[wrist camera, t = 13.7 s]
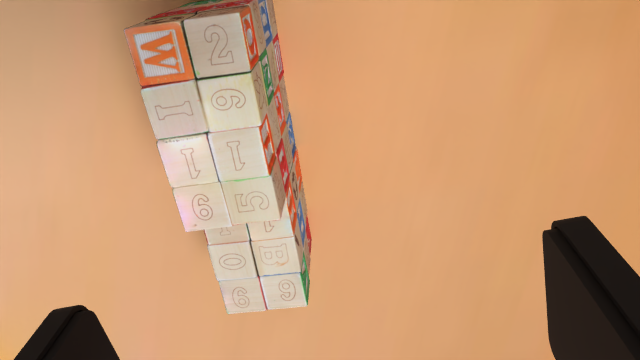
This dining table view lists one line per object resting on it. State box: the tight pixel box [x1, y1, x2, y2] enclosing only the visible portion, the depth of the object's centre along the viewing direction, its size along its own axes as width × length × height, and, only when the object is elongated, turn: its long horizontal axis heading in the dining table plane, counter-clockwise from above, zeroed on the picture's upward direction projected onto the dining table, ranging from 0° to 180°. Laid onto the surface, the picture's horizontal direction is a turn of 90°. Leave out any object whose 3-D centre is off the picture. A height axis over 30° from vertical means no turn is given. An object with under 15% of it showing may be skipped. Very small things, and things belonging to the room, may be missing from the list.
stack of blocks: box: [124, 0, 312, 314], centre depth 36 cm, size 21×6×12 cm, turn 8°
